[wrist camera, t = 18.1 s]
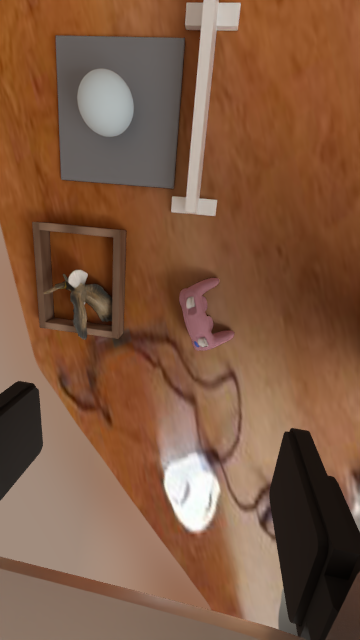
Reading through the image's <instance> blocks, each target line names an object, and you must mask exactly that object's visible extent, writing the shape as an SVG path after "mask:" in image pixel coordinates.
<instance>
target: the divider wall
mask: <svg viewBox="0 0 360 640" xmlns="http://www.w3.org/2000/svg"><path fill="white" fill-rule="evenodd" d="M240 7H241V3H219V0H204V2H203V3H187V4H186V18H185V28H186V30H201V35H200V47H199V58H198V69H197V81H196V92H195V103H194V114H193V126H192V137H191V148H190V160H189V171H188V182H187V193H186V197H176V196H172V206H171V212H174V213H185V214H196V215H207V216H215V214H216V206H217V200H212V199H200V189H201V179H202V169H203V159H204V150H205V140H206V130H207V120H208V110H209V101H210V91H211V81H212V71H213V62H214V52H215V42H216V32H217V30H224V31H238V24H239V16H240Z"/></svg>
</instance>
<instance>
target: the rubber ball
mask: <svg viewBox="0 0 360 640" xmlns="http://www.w3.org/2000/svg"><path fill="white" fill-rule="evenodd" d="M77 101H78V107H79V111H80V114H81V116H82V118H83V120H84V121H85V123H86V124H87V125H88V127H89V128H90V129H92V130H93V131H94V132H96V133H97V134H99V135H102V136H105V137H114V136H118V135H120V134H122V133H123V132H124V131H125V130H126V129H127V128H128V127H129V125H130V123H131V121H132V118H133V112H134V104H133V98H132V94H131V92H130V89H129V87H128V86H127V84H126V83H125V81H124V80H123V79H122V78H121V77H120V76H119V75H118V74H116V73H115V72H113V71H111V70H108V69H95V70H92V71H90V72H89V73H88V74H86V75H85V76H84V78H83V79H82V81H81V83H80V85H79V89H78V94H77Z"/></svg>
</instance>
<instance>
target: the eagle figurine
mask: <svg viewBox="0 0 360 640" xmlns="http://www.w3.org/2000/svg"><path fill="white" fill-rule="evenodd" d="M87 276H88V274H87V273H86V272H84V271H82V270H75V271H73V272H72V273H71V274H70V276H69V278H67V277H66V275H65V274H63V277H64V279H65V281H64V282H62V283H59V284H56V285H55V286H54V287H53V288H51V289H49V290H47V291H45V292H44V293H43V294H49V293H51V292H53V291H56V290H57V289H64V288H66V289H67V290H70V291H71V293H70V294H71V295H70V299H71V302H72V303H73V305H74V310H73V311H74V319H73V323H74V326H75V328H76V331H77V333H78V335H79V336H80V337H81V338H82V339H85V340H86V338H87V328H86V323H87V313H86V309H85V306H84V305H85V302H86V303H88V304H89V305H90V306H91V307H92V308H93V309H94V310H95V311H96V312H97V314H98V316H99V317H100V319H101V320H102V321H106V322H108V321H112V297H111V296H110V295H108V293H106V291H104V289H103V287H101V286H100V285H98V284H90V285H88V284H87V285H85V282H86V279H87Z"/></svg>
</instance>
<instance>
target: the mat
mask: <svg viewBox="0 0 360 640" xmlns="http://www.w3.org/2000/svg"><path fill="white" fill-rule="evenodd" d="M184 48H185V38H157V37H105V36H56V60H57V85H58V111H59V136H60V162H61V179H62V180H71V181H83V182H96V183H108V184H120V185H133V186H145V187H158V188H170V189H174V181H175V167H176V154H177V141H178V127H179V114H180V101H181V88H182V74H183V61H184ZM95 69H108V70H111V71H113V72H115V73H116V74H118V75H119V76H120V77H121V78H122V79H123V80H124V81H125V83H126V84H127V86H128V87H129V89H130V92H131V94H132V98H133V104H134V112H133V118H132V121H131V123H130V125H129V127H128V128H127V129H126V130H125V131H124V132H123V133H122V134H120V135H118V136H114V137H105V136H102V135H99V134H97V133H96V132H94V131H93V130H92V129H90V128H89V127H88V125H87V124H86V123H85V121H84V120H83V118H82V116H81V114H80V111H79V107H78V101H77V94H78V89H79V85H80V83H81V81H82V79H83V78H84V76H85V75H86V74H88V73H89V72H90V71H92V70H95Z"/></svg>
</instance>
